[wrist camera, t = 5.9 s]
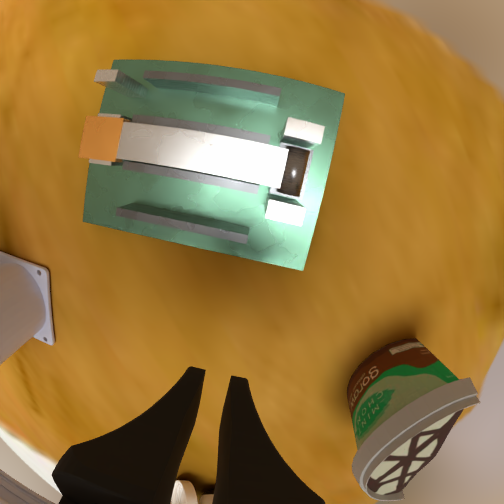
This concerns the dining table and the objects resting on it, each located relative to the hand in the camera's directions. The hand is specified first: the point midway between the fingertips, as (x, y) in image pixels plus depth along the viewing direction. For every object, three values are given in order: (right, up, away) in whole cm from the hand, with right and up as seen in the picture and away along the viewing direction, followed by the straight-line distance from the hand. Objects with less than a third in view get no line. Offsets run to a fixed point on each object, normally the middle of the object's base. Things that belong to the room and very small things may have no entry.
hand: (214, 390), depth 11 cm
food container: (+12, -6, +12) cm, 18 cm away
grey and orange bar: (-2, +11, +4) cm, 12 cm away
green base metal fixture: (-2, +12, +8) cm, 14 cm away
